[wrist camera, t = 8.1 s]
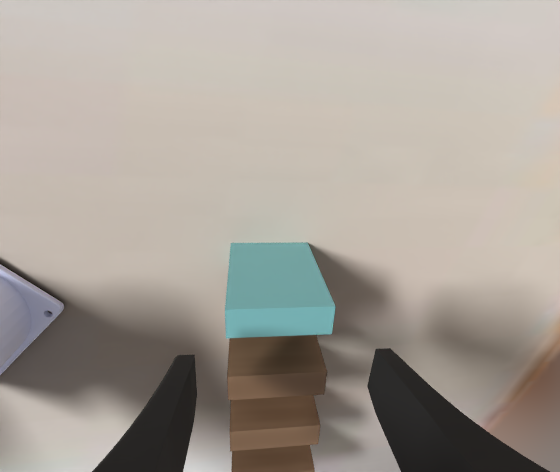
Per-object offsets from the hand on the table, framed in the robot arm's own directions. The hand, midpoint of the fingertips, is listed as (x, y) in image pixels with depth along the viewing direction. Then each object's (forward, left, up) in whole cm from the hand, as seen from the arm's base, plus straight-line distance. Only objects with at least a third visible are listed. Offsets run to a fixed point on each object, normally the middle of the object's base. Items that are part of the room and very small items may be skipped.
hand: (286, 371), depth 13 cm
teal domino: (0, 0, -9) cm, 9 cm away
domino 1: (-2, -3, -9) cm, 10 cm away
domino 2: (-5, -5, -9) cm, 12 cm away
